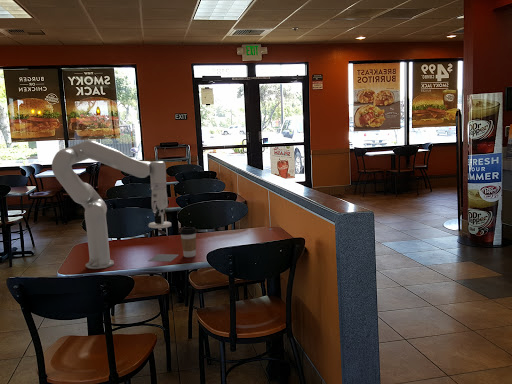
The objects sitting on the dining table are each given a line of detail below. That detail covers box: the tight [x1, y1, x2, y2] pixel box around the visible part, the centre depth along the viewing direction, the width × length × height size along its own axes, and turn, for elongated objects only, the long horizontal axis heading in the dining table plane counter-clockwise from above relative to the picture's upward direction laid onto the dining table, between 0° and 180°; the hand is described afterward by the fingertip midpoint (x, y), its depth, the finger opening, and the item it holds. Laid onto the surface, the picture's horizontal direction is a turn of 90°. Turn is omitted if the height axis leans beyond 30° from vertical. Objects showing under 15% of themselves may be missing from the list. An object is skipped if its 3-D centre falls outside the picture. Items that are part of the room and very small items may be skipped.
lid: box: [148, 212, 172, 229], centre depth 237 cm, size 11×11×7 cm
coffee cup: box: [179, 226, 197, 258], centre depth 241 cm, size 8×8×15 cm
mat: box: [148, 253, 179, 262], centre depth 240 cm, size 12×12×1 cm
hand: (159, 222), depth 237 cm, fingers closed on lid, 3 cm apart
